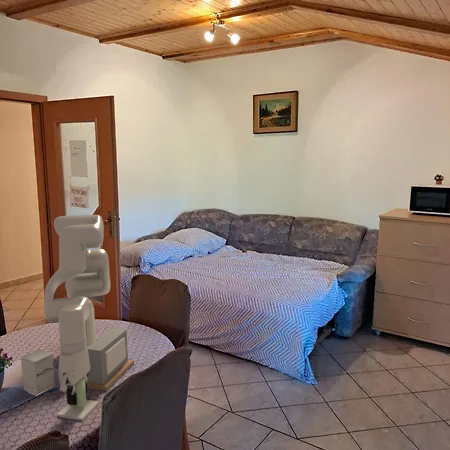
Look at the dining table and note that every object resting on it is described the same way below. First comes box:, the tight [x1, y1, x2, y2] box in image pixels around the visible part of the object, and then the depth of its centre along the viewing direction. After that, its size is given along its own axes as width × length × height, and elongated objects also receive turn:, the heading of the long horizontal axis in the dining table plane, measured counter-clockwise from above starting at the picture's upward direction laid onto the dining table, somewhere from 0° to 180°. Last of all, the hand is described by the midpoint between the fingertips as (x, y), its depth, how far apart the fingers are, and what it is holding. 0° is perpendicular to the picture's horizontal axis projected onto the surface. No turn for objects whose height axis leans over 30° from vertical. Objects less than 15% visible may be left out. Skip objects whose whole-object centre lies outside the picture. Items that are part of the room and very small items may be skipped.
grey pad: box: [56, 399, 100, 422], centre depth 134 cm, size 9×9×1 cm
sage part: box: [69, 377, 87, 408], centre depth 133 cm, size 5×5×8 cm
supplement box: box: [20, 348, 56, 395], centre depth 145 cm, size 7×7×13 cm
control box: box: [87, 327, 135, 392], centre depth 154 cm, size 10×20×14 cm, turn 165°
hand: (77, 398), depth 133 cm, fingers closed on sage part, 4 cm apart
